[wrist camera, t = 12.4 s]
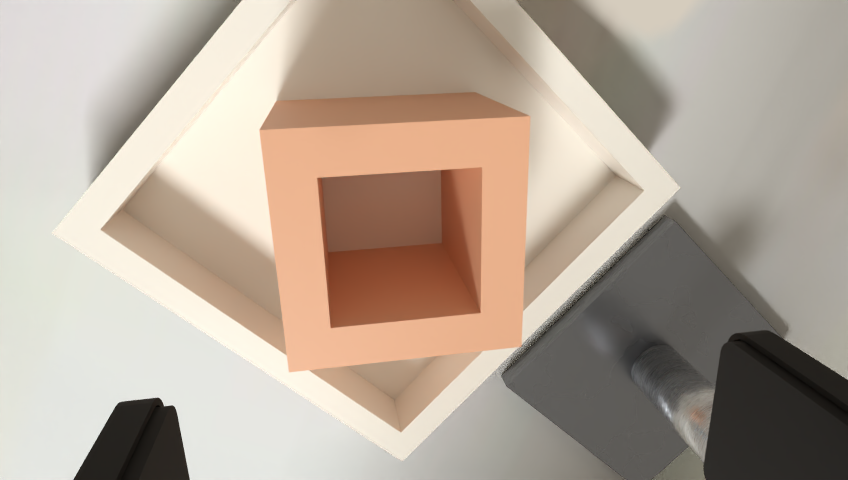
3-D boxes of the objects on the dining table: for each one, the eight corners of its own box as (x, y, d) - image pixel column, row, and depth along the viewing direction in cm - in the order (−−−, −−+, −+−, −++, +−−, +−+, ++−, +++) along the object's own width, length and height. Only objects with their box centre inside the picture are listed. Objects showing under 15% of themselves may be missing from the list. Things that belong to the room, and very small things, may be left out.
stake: (782, 343, 28) (925, 442, 22) (631, 478, 30) (722, 610, 23) (664, 215, 25) (792, 286, 18) (501, 375, 26) (563, 496, 20)
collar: (475, 91, 21) (530, 116, 16) (474, 270, 24) (521, 346, 18) (276, 100, 20) (258, 130, 14) (296, 286, 22) (288, 372, 17)
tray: (639, 168, 24) (680, 188, 21) (393, 415, 26) (402, 461, 23) (365, -134, 19) (373, -162, 16) (87, 205, 21) (51, 233, 18)
